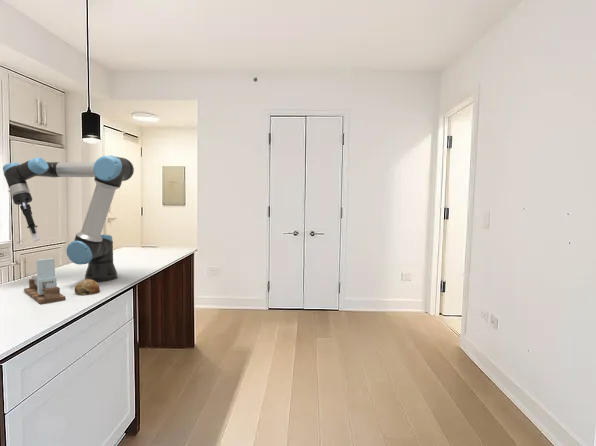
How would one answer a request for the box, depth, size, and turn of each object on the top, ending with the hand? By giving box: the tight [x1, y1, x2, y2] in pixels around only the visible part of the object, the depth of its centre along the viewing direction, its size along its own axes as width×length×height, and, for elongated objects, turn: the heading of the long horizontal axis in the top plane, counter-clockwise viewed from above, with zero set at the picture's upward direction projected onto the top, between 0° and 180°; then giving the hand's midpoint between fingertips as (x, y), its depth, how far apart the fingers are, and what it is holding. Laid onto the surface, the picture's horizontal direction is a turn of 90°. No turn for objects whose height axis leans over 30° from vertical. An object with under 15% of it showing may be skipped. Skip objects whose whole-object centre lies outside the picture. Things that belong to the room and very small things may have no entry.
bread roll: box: [74, 279, 101, 296], centre depth 178 cm, size 10×10×8 cm
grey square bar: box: [31, 275, 56, 290], centre depth 171 cm, size 25×3×3 cm, turn 46°
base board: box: [23, 278, 66, 305], centre depth 172 cm, size 28×9×6 cm, turn 46°
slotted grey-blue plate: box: [36, 257, 58, 295], centre depth 167 cm, size 3×6×14 cm, turn 136°
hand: (36, 240), depth 188 cm, fingers closed
